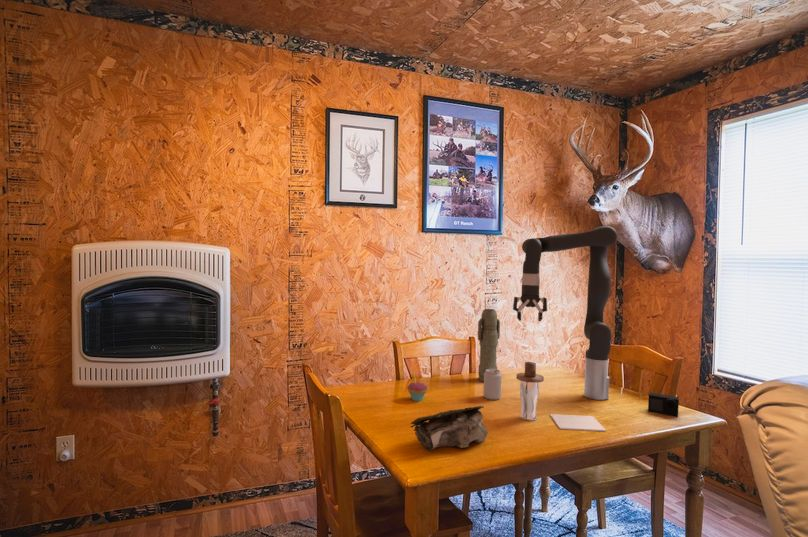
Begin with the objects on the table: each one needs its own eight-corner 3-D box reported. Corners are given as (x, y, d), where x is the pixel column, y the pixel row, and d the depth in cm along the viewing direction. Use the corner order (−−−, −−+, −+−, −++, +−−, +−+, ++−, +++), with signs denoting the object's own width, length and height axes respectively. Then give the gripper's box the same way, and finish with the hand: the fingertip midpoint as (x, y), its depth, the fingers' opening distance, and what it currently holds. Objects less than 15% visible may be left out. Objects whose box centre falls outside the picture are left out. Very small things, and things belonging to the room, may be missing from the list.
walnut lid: (540, 375, 176) (540, 360, 176) (546, 383, 166) (547, 366, 166) (514, 374, 177) (514, 359, 177) (518, 381, 167) (519, 365, 167)
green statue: (502, 380, 223) (504, 310, 222) (484, 384, 217) (486, 311, 216) (490, 376, 231) (492, 308, 230) (472, 379, 224) (474, 309, 223)
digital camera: (647, 412, 182) (648, 395, 182) (648, 408, 186) (649, 392, 186) (677, 418, 176) (678, 400, 176) (678, 414, 181) (679, 396, 180)
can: (501, 401, 192) (501, 373, 191) (483, 399, 193) (483, 371, 193) (500, 395, 199) (501, 368, 199) (483, 394, 200) (484, 367, 200)
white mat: (592, 417, 174) (592, 416, 174) (606, 431, 160) (606, 430, 160) (550, 415, 175) (550, 414, 175) (559, 429, 162) (559, 427, 162)
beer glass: (538, 416, 174) (539, 377, 174) (537, 422, 168) (539, 382, 167) (519, 413, 177) (521, 375, 176) (518, 419, 170) (519, 380, 170)
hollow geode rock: (412, 468, 140) (429, 446, 130) (399, 429, 147) (414, 406, 138) (487, 450, 152) (507, 429, 142) (471, 415, 160) (489, 393, 150)
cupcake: (404, 400, 189) (404, 372, 189) (411, 395, 197) (412, 367, 197) (423, 403, 186) (424, 374, 185) (430, 397, 194) (430, 370, 193)
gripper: (545, 283, 202) (544, 320, 203) (512, 283, 204) (511, 319, 204) (549, 285, 195) (548, 322, 195) (515, 284, 196) (514, 321, 197)
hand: (529, 320), depth 200 cm, fingers open, 8 cm apart
